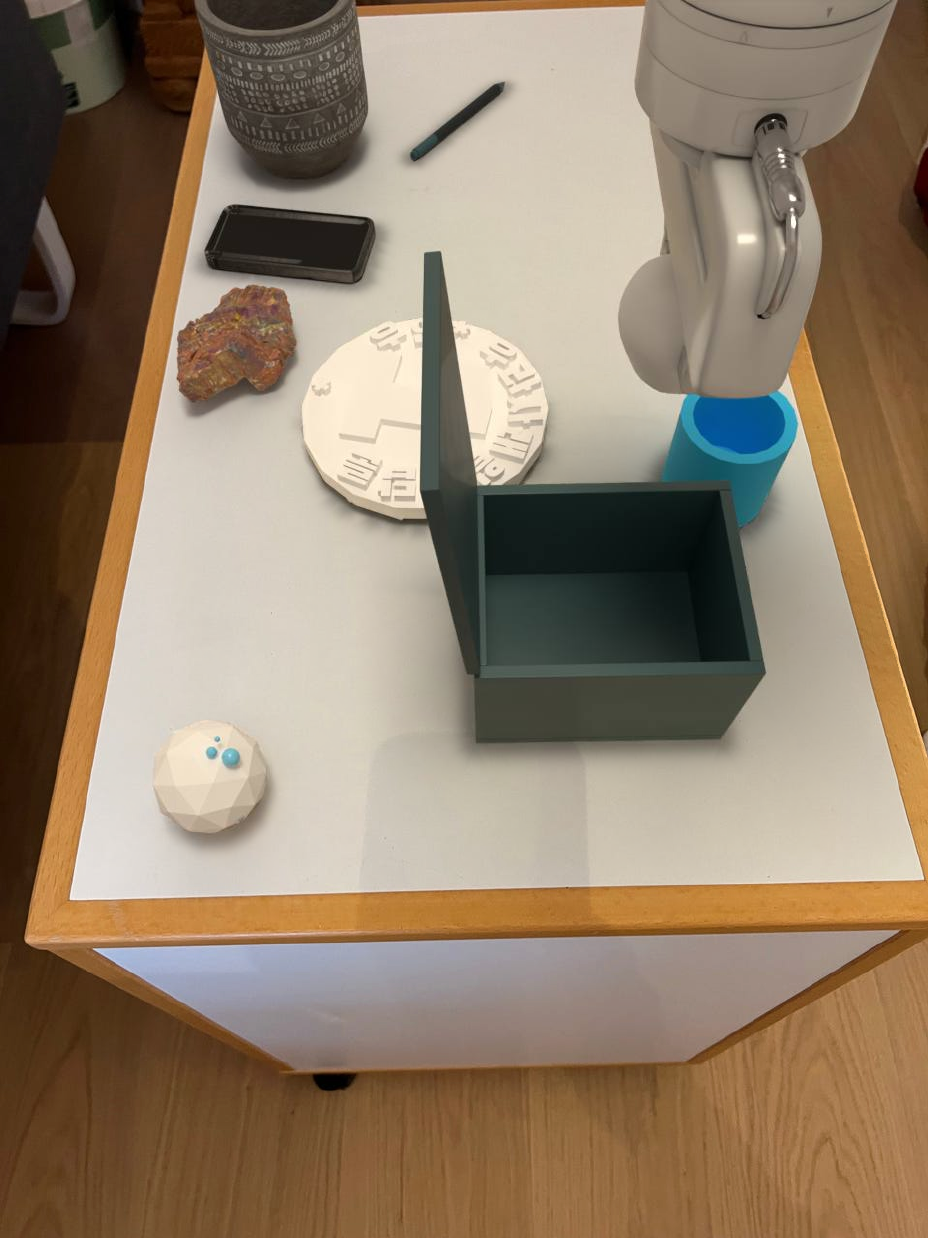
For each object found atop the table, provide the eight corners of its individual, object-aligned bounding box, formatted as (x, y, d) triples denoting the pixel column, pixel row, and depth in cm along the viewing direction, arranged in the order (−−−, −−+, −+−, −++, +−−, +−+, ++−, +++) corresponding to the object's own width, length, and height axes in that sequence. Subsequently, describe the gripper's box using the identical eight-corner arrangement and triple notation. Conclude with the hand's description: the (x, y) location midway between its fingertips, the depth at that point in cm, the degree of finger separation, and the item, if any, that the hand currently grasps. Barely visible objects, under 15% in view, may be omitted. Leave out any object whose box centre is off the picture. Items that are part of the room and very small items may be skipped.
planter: (212, 179, 88) (164, 20, 75) (270, 98, 94) (235, -62, 81) (342, 206, 85) (316, 46, 72) (393, 121, 92) (377, -40, 78)
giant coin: (394, 308, 79) (391, 282, 76) (588, 393, 73) (591, 368, 71) (258, 460, 71) (249, 436, 68) (463, 566, 66) (462, 545, 63)
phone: (225, 202, 84) (376, 217, 83) (229, 213, 85) (378, 227, 84) (200, 258, 80) (357, 274, 79) (204, 268, 81) (359, 284, 80)
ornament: (188, 863, 56) (145, 831, 49) (163, 764, 59) (119, 721, 52) (289, 822, 57) (262, 785, 50) (259, 727, 60) (229, 680, 53)
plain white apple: (742, 420, 47) (787, 301, 40) (609, 413, 47) (629, 295, 40) (734, 325, 50) (774, 200, 43) (610, 320, 50) (629, 196, 43)
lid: (441, 249, 40) (423, 251, 40) (439, 489, 34) (419, 491, 34) (477, 480, 55) (464, 481, 55) (480, 674, 49) (466, 675, 49)
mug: (765, 536, 66) (799, 470, 59) (657, 524, 67) (678, 457, 60) (763, 416, 72) (794, 342, 65) (664, 406, 73) (684, 331, 65)
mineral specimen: (284, 410, 71) (223, 356, 66) (220, 437, 75) (157, 388, 70) (311, 304, 76) (256, 247, 72) (249, 335, 80) (193, 282, 76)
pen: (508, 89, 94) (508, 78, 93) (417, 163, 89) (416, 152, 88) (500, 86, 95) (501, 75, 94) (408, 159, 89) (408, 148, 88)
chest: (694, 567, 65) (729, 479, 56) (720, 739, 59) (766, 673, 49) (473, 571, 65) (470, 484, 56) (475, 743, 59) (473, 678, 49)
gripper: (902, 224, 28) (779, 482, 41) (792, -88, 38) (719, 196, 50) (707, 229, 29) (643, 484, 41) (647, -83, 38) (610, 199, 50)
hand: (685, 323), depth 46 cm, fingers closed on plain white apple, 7 cm apart
